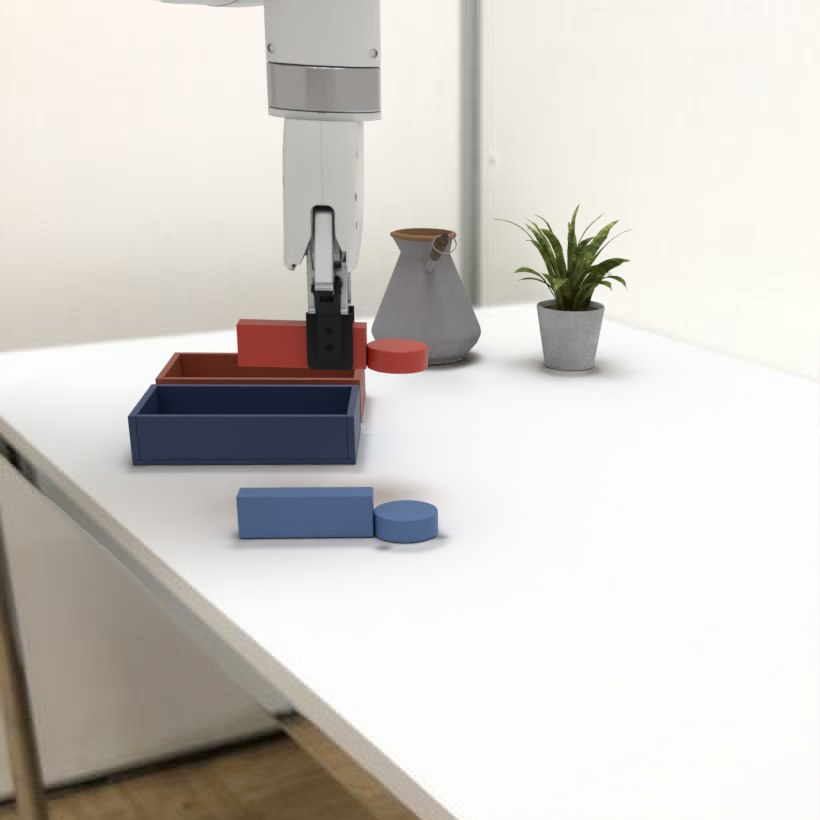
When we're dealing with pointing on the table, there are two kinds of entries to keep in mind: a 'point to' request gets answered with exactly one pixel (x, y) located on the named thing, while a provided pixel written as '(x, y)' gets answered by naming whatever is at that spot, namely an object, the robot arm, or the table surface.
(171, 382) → the red bin
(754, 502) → the table surface
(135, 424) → the blue bin
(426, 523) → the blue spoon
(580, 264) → the house plant
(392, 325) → the coffee pot
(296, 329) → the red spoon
